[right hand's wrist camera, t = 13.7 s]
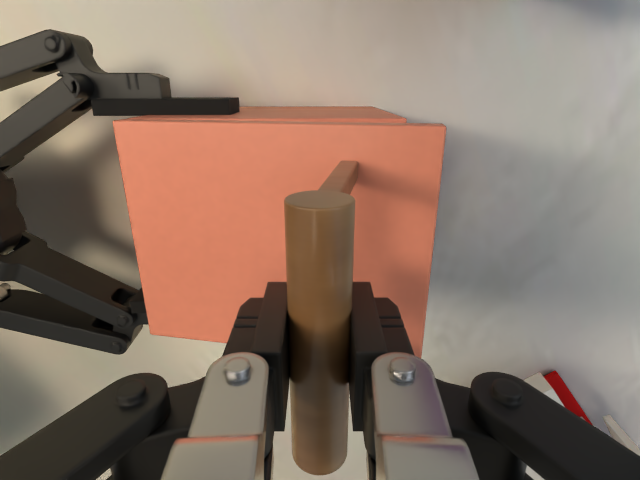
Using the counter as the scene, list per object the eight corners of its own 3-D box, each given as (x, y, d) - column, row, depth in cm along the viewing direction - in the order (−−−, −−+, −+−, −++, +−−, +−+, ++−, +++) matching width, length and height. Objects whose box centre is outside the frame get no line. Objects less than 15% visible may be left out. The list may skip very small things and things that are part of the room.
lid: (443, 123, 15) (487, 159, 8) (419, 351, 19) (432, 524, 11) (127, 118, 17) (-76, 142, 10) (161, 323, 21) (31, 452, 13)
